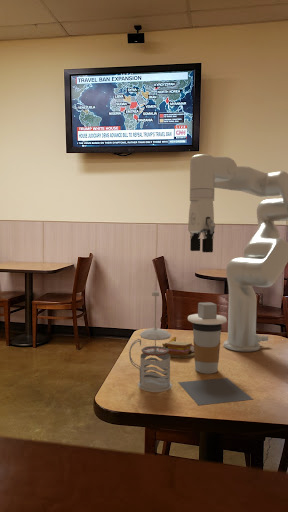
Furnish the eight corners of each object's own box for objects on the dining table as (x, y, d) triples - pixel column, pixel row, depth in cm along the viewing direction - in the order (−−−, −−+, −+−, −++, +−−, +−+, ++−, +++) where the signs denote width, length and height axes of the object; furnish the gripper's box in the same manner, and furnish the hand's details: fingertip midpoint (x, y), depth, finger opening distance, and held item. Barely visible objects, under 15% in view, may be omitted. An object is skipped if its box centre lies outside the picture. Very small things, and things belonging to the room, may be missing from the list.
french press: (175, 394, 95) (176, 294, 93) (128, 394, 95) (128, 293, 93) (172, 379, 104) (173, 288, 103) (130, 379, 105) (130, 288, 103)
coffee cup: (220, 377, 106) (221, 324, 105) (190, 375, 108) (191, 322, 107) (221, 367, 114) (221, 317, 113) (192, 365, 116) (193, 316, 115)
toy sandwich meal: (205, 352, 130) (206, 338, 130) (186, 362, 119) (186, 347, 119) (174, 345, 138) (174, 332, 137) (153, 355, 127) (153, 341, 126)
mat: (226, 379, 105) (226, 377, 105) (253, 401, 91) (253, 399, 91) (178, 384, 101) (178, 382, 101) (198, 407, 88) (198, 405, 88)
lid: (216, 315, 117) (216, 299, 116) (233, 323, 106) (233, 306, 106) (182, 317, 114) (182, 301, 114) (196, 325, 103) (196, 308, 103)
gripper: (181, 198, 126) (180, 250, 127) (201, 192, 109) (200, 253, 110) (202, 198, 127) (201, 250, 128) (225, 193, 111) (224, 252, 112)
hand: (201, 251), depth 119 cm, fingers open, 9 cm apart
